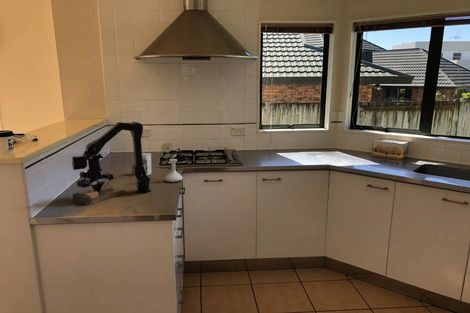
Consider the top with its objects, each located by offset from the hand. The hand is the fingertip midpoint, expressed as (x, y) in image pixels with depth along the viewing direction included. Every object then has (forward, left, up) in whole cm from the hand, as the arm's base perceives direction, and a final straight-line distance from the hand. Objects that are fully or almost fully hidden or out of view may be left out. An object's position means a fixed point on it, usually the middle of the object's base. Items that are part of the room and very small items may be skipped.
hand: (97, 195), depth 189 cm
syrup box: (+17, -50, -2) cm, 53 cm away
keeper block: (0, +5, -2) cm, 5 cm away
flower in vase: (-9, -49, -2) cm, 49 cm away
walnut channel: (0, -1, -2) cm, 2 cm away
